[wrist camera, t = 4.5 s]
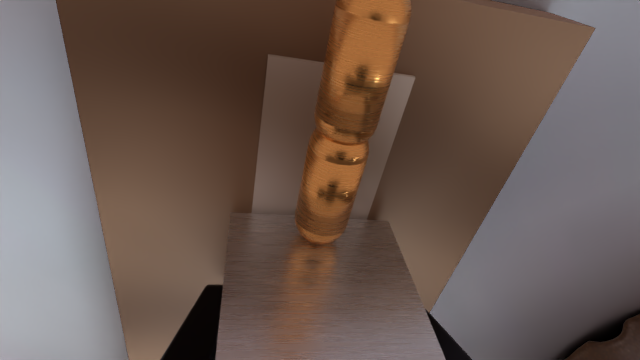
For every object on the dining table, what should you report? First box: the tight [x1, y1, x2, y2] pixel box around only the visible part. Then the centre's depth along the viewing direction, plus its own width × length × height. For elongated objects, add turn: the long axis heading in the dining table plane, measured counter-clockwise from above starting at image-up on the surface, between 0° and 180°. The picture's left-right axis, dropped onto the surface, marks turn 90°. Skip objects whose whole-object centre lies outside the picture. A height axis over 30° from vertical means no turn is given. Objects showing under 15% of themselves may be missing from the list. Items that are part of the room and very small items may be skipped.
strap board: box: [56, 0, 595, 360], centre depth 13 cm, size 21×10×2 cm, turn 169°
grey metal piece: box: [215, 0, 446, 360], centre depth 6 cm, size 8×4×6 cm, turn 169°
